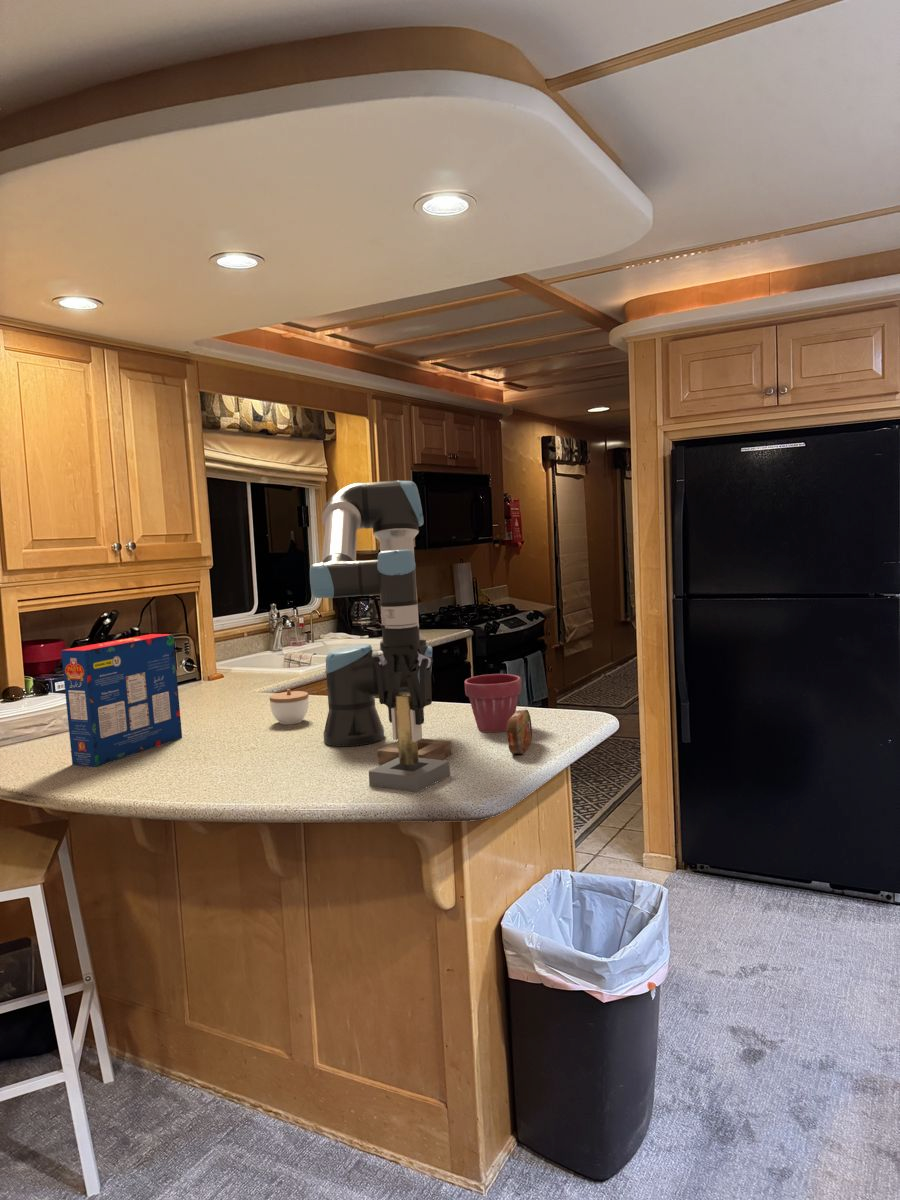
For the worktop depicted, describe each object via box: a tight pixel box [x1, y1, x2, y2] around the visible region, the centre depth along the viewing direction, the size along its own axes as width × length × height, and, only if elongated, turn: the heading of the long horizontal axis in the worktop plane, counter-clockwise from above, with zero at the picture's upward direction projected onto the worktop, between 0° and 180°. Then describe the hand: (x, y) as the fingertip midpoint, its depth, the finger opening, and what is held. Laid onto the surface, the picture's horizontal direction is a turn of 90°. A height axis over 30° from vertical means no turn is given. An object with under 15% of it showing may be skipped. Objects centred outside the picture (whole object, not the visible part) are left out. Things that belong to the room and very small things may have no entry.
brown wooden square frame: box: [376, 738, 453, 765], centre depth 187 cm, size 12×12×3 cm
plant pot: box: [464, 673, 522, 733], centre depth 210 cm, size 14×14×13 cm
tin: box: [506, 709, 533, 755], centre depth 189 cm, size 15×3×8 cm, turn 163°
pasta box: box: [60, 633, 183, 768], centre depth 209 cm, size 28×8×28 cm, turn 154°
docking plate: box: [368, 757, 451, 793], centre depth 170 cm, size 12×12×3 cm
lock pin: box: [395, 693, 419, 765], centre depth 170 cm, size 4×4×14 cm
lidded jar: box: [269, 688, 310, 726], centre depth 232 cm, size 11×11×9 cm
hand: (407, 738), depth 170 cm, fingers closed on lock pin, 4 cm apart
